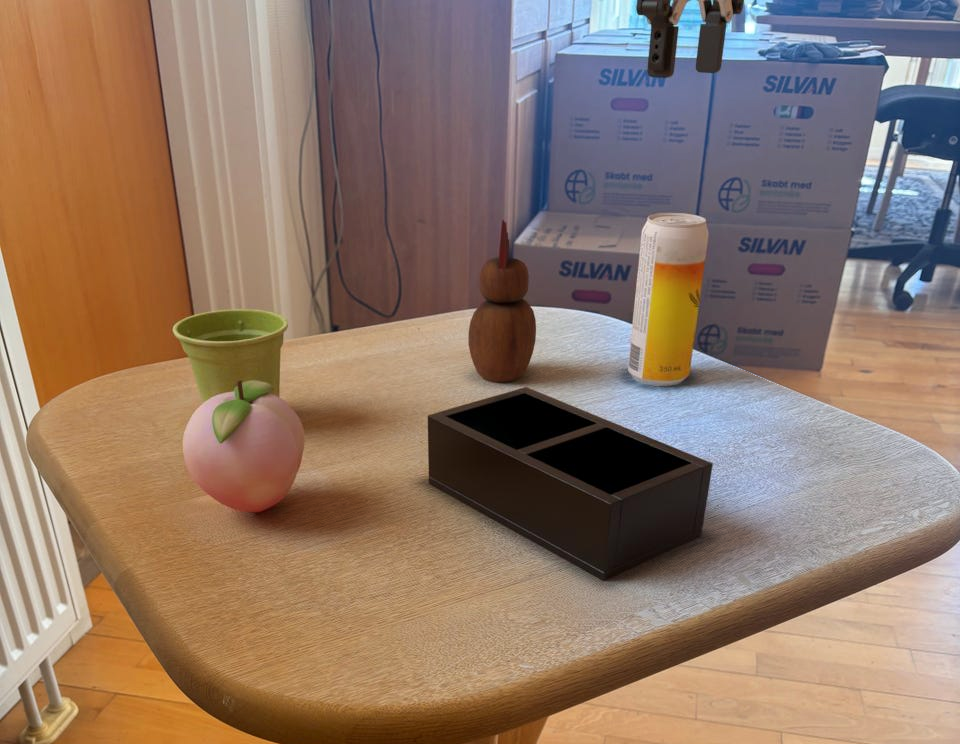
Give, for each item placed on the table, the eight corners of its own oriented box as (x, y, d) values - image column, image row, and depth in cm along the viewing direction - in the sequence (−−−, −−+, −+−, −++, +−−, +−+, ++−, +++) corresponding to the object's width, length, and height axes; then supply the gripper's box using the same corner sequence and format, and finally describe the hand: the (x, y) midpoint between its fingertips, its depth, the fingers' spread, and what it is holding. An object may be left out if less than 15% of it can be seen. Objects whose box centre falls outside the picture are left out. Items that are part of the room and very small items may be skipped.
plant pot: (219, 452, 81) (204, 348, 76) (171, 419, 87) (154, 320, 82) (317, 426, 86) (308, 327, 81) (264, 396, 92) (253, 302, 87)
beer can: (701, 383, 96) (724, 221, 88) (652, 393, 94) (671, 227, 85) (662, 365, 100) (681, 209, 92) (614, 374, 98) (629, 215, 89)
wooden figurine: (510, 392, 93) (516, 226, 85) (459, 381, 96) (459, 218, 87) (542, 372, 98) (550, 213, 90) (493, 362, 100) (496, 206, 92)
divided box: (523, 454, 81) (526, 386, 78) (701, 538, 69) (713, 463, 66) (428, 485, 76) (427, 415, 73) (603, 583, 64) (611, 503, 61)
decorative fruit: (211, 484, 76) (191, 357, 70) (316, 485, 76) (304, 358, 70) (179, 541, 68) (154, 404, 62) (297, 543, 68) (282, 406, 62)
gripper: (711, -177, 70) (682, 82, 79) (794, -157, 79) (759, 73, 88) (622, -170, 74) (604, 77, 83) (711, -151, 83) (686, 68, 92)
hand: (684, 74), depth 85 cm, fingers open, 8 cm apart
